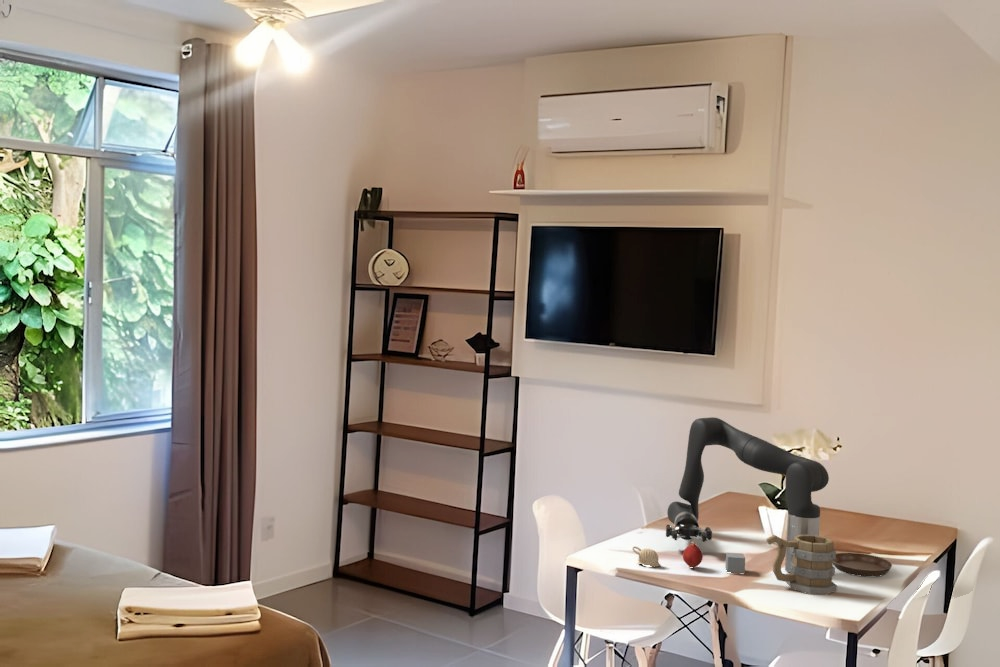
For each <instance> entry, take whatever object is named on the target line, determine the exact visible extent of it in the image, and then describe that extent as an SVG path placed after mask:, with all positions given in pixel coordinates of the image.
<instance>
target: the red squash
mask: <svg viewBox="0 0 1000 667" xmlns="http://www.w3.org/2000/svg"><path fill="white" fill-rule="evenodd" d="M703 557H704V556H703V551H702V550H701V548H700V547H699V546H698V545H696V542H694V541H691V542H690V545H688V546H686V548H685V549H684V551H683V552H682V560H683V561H684V563H685V564H686V565H687V566H688V567H689V568H690V567H693V569H694V567H695V568H697V567H698V566H699V565H700V564H701V563H702V561H703Z"/></svg>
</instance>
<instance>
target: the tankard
mask: <svg viewBox="0 0 1000 667" xmlns="http://www.w3.org/2000/svg"><path fill="white" fill-rule="evenodd" d="M786 540H787V539H784V538H781V537H779V536H777V535H776V534H772V535H771V536H769V537H767V538H766V539H765V541H766V542H767V544H768V545H770V546H771V545H772V544H777V550H776V551H777V553H776V555H775V558H774V560H773V561H772V572H773V574H774V577H775V578H776V580H777V581H781V582H785V584H786V583H787V584H788V585H789V586H790V587H791V588H792V589H791V588H790V587H789V586H788V585H787V584H786V585H787V586H788V587H789V588H790V589H791V590H793V589H796V590H799V591H802V592H801V593H803V592H806V593H805V594H807V593H810V594H809V595H825V594H828V595H830V594H832V593H834V592H836V591H837V588H838V586H837V584H835V582H833V577H834V576H835V574H836V573H835V572H836V571H835V570H836V567H835V566H834V564H833V559H835V557H836V554H837V550H836V549H834V542H835V541H833V540H832V539H831V538H830V537H825V536H822V535H819V536H817V535H815V536H814V535H798V536H795V537H794V540H793V541H786ZM786 547H791V551H790V553H791V554H792V555H793V560H792V562H790V570H791V571H792V573H786V574H785V573H783V572H782V564H783V561H784V559H785V558H786ZM799 591H798V592H799ZM829 593H830V594H829Z"/></svg>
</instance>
